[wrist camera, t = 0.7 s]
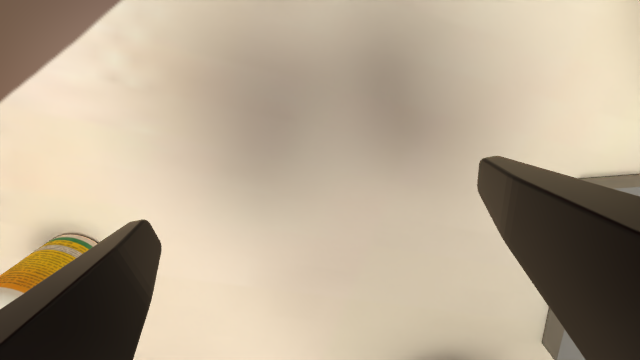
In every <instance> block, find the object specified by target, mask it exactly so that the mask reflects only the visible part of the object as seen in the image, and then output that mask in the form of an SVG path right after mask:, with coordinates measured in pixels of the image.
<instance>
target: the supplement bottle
mask: <svg viewBox="0 0 640 360" xmlns="http://www.w3.org/2000/svg"><path fill="white" fill-rule="evenodd" d="M96 244H97V243H96V242H94V241H93V240H91V239H89V238H86V237H84V236H80V235H61V236H58V237H56V238H54V239H52V240H50V241H49V242H47V243H46V244H44V245H43V246H42V247H40V248H39V249H37V250H36V251H35V252H33V253H32V254H30V255H29V256H27V257H26V258H25V259H23V260H22V261H20V262H19V263H18V264H16V265H15V266H13V267H12V268H10V269H9V270H7V271H6V272H5V273H3V274H2V275H0V309H1V308H3V307H4V306H6V305H7V304H9V303H10V302H12V301H13V300H15V299H16V298H18V297H19V296H21V295H22V294H24V293H25V292H27V291H28V290H30V289H31V288H33V287H34V286H35V285H37V284H38V283H40V282H41V281H43V280H44V279H46V278H47V277H49V276H50V275H52V274H53V273H55V272H56V271H58V270H59V269H61V268H62V267H64V266H65V265H67V264H68V263H70V262H71V261H73V260H74V259H76V258H77V257H79V256H80V255H82V254H83V253H85V252H86V251H88V250H89V249H91V248H92V247H93V246H95V245H96Z"/></svg>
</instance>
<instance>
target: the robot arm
mask: <svg viewBox="0 0 640 360" xmlns="http://www.w3.org/2000/svg"><path fill="white" fill-rule="evenodd" d="M477 187H478V192H479V194H480V196H481V198H482V200H483V202H484V204H485V206H486V208H487V210H488V212H489V214H490V216H491V217H492V219H493V221H494V223H495V225H496V227H497V229H498V231H499V233H500V235H501V236H502V238H503V240H504V241H505V243H506V244H507V246H508V247H509V249H510V250H511V252H512V253H513V255H514V256H515V258H516V259H517V261H518V262H519V264H520V265H521V266H522V268H523V269H524V271H525V272H526V274H527V275H528V277H529V278H530V280H531V281H532V283H533V284H534V285H535V287H536V288H537V290H538V291H539V293H540V294H541V296H542V297H543V299H544V300H545V302H546V303H547V304H548V306H549V307H550V309H551V310H552V312H553V313H554V315H555V316H556V318H557V319H558V320H559V322H560V323H561V325H562V326H563V328H564V329H565V331H566V332H567V334H568V335H569V337H570V338H571V339H572V341H573V342H574V344H575V345H576V347H577V348H578V350H579V351H580V353H581V354H582V356H583V357H584V358H585V360H640V196H637V195H633V194H630V193H626V192H623V191H619V190H616V189H612V188H609V187H605V186H602V185H598V184H595V183H591V182H588V181H584V180H581V179H577V178H574V177H570V176H567V175H563V174H560V173H556V172H553V171H549V170H546V169H542V168H539V167H535V166H532V165H529V164H525V163H522V162H518V161H515V160H511V159H508V158H504V157H501V156H492V157H487V158H483V159H482V160H481V161H480V163H479V173H478V184H477ZM160 255H161V243H160V240H159V239H158V237H157V235H156V233H155V231H154V230H153V228H152V226H151V224H150V223H149V222H148V221H147V220H138V221H132V222H129V223H128V224H126V225H125V226H123V227H122V228H120V229H119V230H117V231H116V232H114V233H113V234H111V235H110V236H108V237H107V238H105V239H104V240H102V241H101V242H99V243H98V244H96V245H95V246H93V247H92V248H91V249H89V250H88V251H86V252H85V253H83V254H82V255H80V256H79V257H77V258H76V259H74V260H73V261H71V262H70V263H68V264H67V265H65V266H64V267H62V268H61V269H59V270H58V271H56V272H55V273H53V274H52V275H50V276H49V277H47V278H46V279H44V280H43V281H41V282H40V283H38V284H37V285H35V286H34V287H33V288H31V289H30V290H28V291H27V292H25V293H24V294H22V295H21V296H19V297H18V298H16V299H15V300H13V301H12V302H10V303H9V304H7V305H6V306H4V307H3V308H1V309H0V360H133V358H134V354H135V351H136V348H137V345H138V342H139V339H140V335H141V332H142V329H143V326H144V323H145V319H146V316H147V313H148V310H149V307H150V303H151V299H152V295H153V291H154V285H155V280H156V275H157V270H158V265H159V260H160Z"/></svg>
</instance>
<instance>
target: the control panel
mask: <svg viewBox="0 0 640 360" xmlns="http://www.w3.org/2000/svg"><path fill="white" fill-rule="evenodd" d="M581 180H584V181H588V182H591V183H595V184H598V185H602V186H605V187H609V188H612V189H616V190H619V191H623V192H626V193H630V194H633V195H637V196H640V174H635V175H621V176H608V177H594V178H581ZM542 344H543V345H544V346H545V348H546V349H547V350H548V352H549V353H550V355H551V356H552V357H553V359H554V360H585V358H584V357H583V356H582V354H581V353H580V351H579V350H578V348H577V347H576V345H575V344H574V342H573V341H572V339H571V338H570V337H569V335H568V334H567V332H566V331H565V329H564V328H563V326H562V325H561V323H560V322H559V320H558V319H557V318H556V316H555V315H554V313H553V312H552V310H551V309H550V308H549V313H548V317H547V322H546V326H545V331H544V335H543V340H542Z"/></svg>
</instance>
